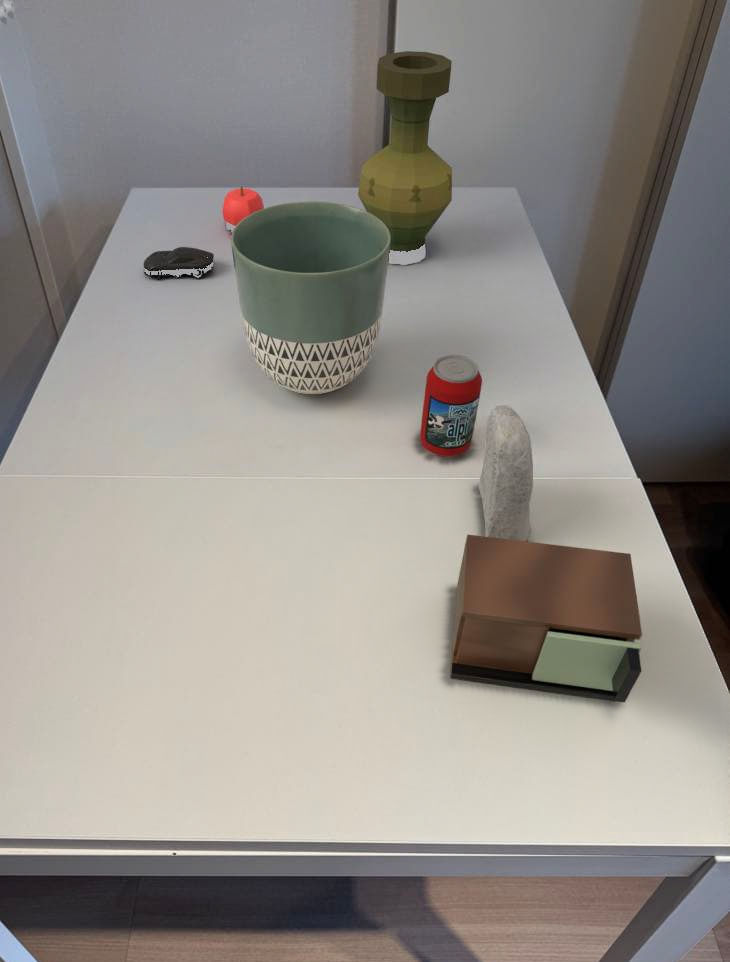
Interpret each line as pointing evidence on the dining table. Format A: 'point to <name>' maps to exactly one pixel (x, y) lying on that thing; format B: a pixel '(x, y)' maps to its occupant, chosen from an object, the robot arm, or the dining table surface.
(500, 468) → the decorative stone
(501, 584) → the cabinet
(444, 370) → the beverage can
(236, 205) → the apple
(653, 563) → the dining table surface
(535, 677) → the sliding cabinet door
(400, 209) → the vase
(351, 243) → the planter
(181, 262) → the toy car
